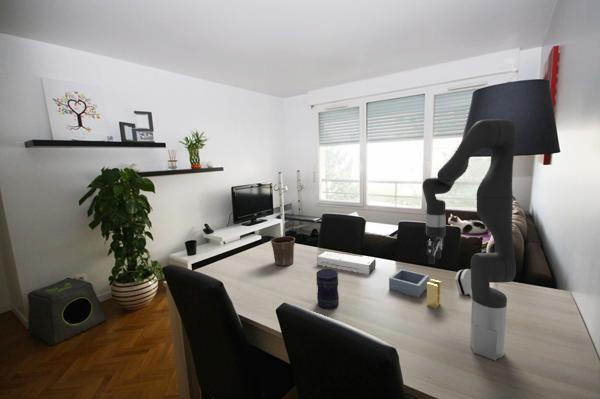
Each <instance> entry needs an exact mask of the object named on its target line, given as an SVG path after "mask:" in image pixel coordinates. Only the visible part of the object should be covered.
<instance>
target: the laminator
mask: <svg viewBox="0 0 600 399" xmlns="http://www.w3.org/2000/svg"><path fill="white" fill-rule="evenodd" d="M316 259H317V261H316V262H317V265H318V266H319V265H322V266H321V267H325V266H327V268H330V267H332V269H335V268H337V270H341V269H342V271H346V270H347V271H348V272H351V271H353V273H357V272H359V274H362V273H364V274H363V275H368V274H369V275H370V274H371V273H372V271H373V270H374V269H375V268H376V262H377V260H376V258H372V257H371V258H370V257H364V256H359V255H358V256H357V255H351V254H344V253H338V252H332V251H326V250H325V251H323V252H322V253H320V254H319V255H317V258H316ZM347 271H346V272H347Z"/></svg>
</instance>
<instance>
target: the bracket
mask: <svg viewBox="0 0 600 399" xmlns="http://www.w3.org/2000/svg"><path fill="white" fill-rule="evenodd" d="M441 282H442V281H440V280H436V279H430V278H429V283H427V290H426V306H428V307H431V308H433V309H438V307H439V305H440V304H441Z"/></svg>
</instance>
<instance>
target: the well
mask: <svg viewBox="0 0 600 399" xmlns="http://www.w3.org/2000/svg"><path fill="white" fill-rule="evenodd" d="M427 283H430V275H429V274H424V273H422V272H415V271H413V270H408V269H404V268H400V269H399V270H397V271H396V272H395V273H393V274H392V275H391V276H390V277H389V278H388V290H390V291H393V292H397V293H400V294H402V295H408V296H411V297H413V298H417V299H419V298H421V297H422V296H423V294H424V293H425V292H427Z"/></svg>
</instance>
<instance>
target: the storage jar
mask: <svg viewBox="0 0 600 399" xmlns="http://www.w3.org/2000/svg"><path fill="white" fill-rule="evenodd" d="M316 286H317V293H316V295H317V297H316V298H317V307H319V308H320V309H321V310H327V311H332V310H335V309H338V307H339V304H340V303H339V300H340V298H339V287H338V286H339V273H338V271H336V270H335V269H333V268H332V269H331V268H325V269H324V268H323V269H320V270H317V271H316Z"/></svg>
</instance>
